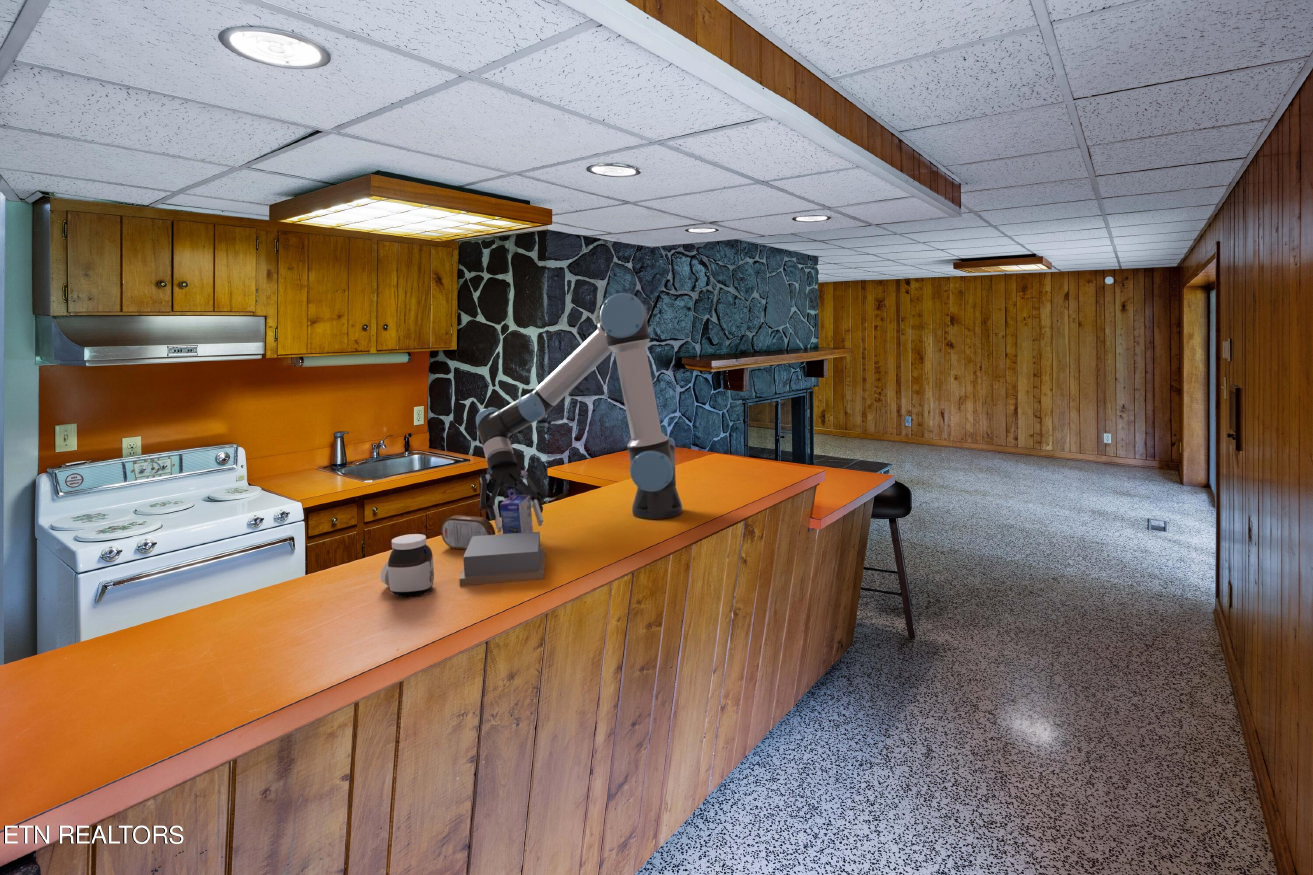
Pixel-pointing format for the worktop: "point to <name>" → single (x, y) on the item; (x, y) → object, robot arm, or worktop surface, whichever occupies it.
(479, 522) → the tin
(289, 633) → the worktop surface
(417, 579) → the spread jar
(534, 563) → the block
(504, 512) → the ink cartridge box
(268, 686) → the worktop surface
